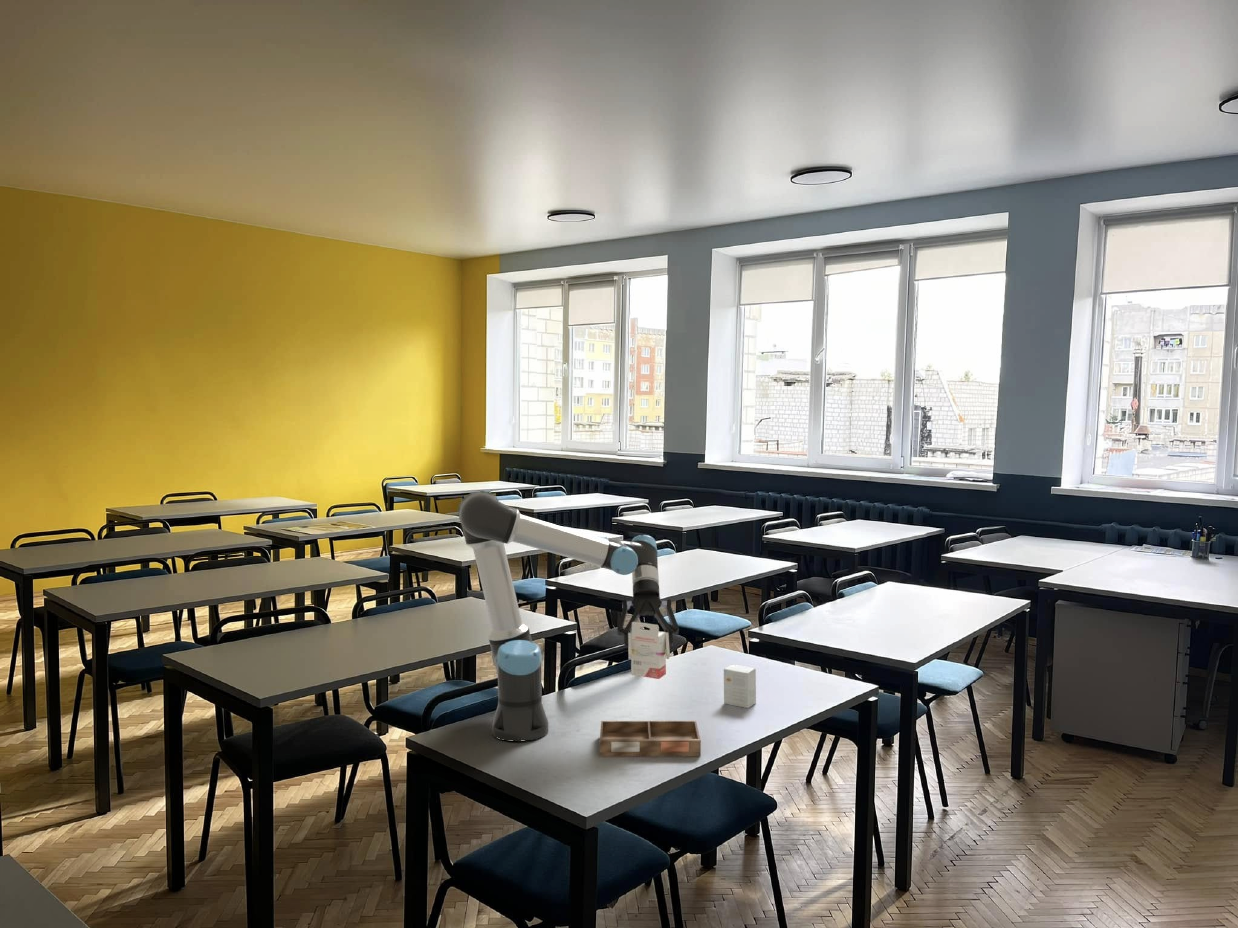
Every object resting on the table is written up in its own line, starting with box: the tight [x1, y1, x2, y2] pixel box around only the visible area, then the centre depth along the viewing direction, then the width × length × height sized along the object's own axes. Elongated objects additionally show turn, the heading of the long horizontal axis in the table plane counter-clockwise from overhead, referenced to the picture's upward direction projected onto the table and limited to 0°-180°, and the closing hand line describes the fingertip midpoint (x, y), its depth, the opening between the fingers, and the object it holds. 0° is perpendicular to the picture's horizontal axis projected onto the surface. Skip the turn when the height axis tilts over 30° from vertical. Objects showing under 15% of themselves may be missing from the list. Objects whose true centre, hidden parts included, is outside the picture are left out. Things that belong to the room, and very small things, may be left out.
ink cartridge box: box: [630, 621, 667, 680], centre depth 227 cm, size 9×5×15 cm, turn 64°
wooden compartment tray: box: [599, 720, 702, 757], centre depth 215 cm, size 25×14×4 cm, turn 90°
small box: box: [723, 664, 757, 709], centre depth 247 cm, size 8×6×10 cm
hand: (649, 656), depth 224 cm, fingers closed on ink cartridge box, 9 cm apart
